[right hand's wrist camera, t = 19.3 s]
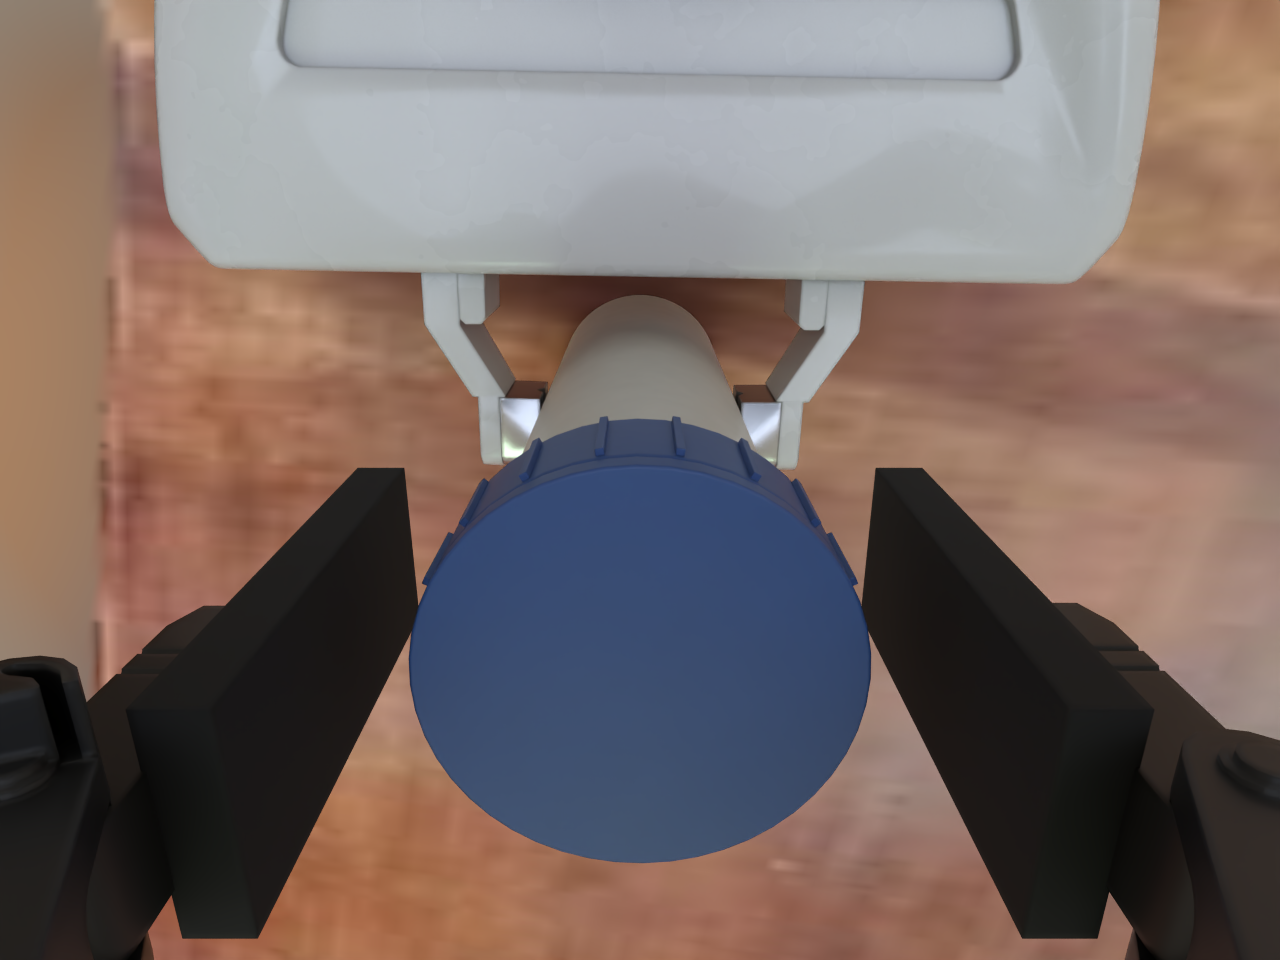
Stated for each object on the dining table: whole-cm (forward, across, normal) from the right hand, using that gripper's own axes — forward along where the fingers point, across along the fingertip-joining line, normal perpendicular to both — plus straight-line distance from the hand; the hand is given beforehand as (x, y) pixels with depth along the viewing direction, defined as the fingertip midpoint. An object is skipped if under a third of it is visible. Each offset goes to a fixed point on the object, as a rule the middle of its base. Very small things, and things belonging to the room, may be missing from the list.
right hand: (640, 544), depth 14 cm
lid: (-4, 0, 0) cm, 4 cm away
